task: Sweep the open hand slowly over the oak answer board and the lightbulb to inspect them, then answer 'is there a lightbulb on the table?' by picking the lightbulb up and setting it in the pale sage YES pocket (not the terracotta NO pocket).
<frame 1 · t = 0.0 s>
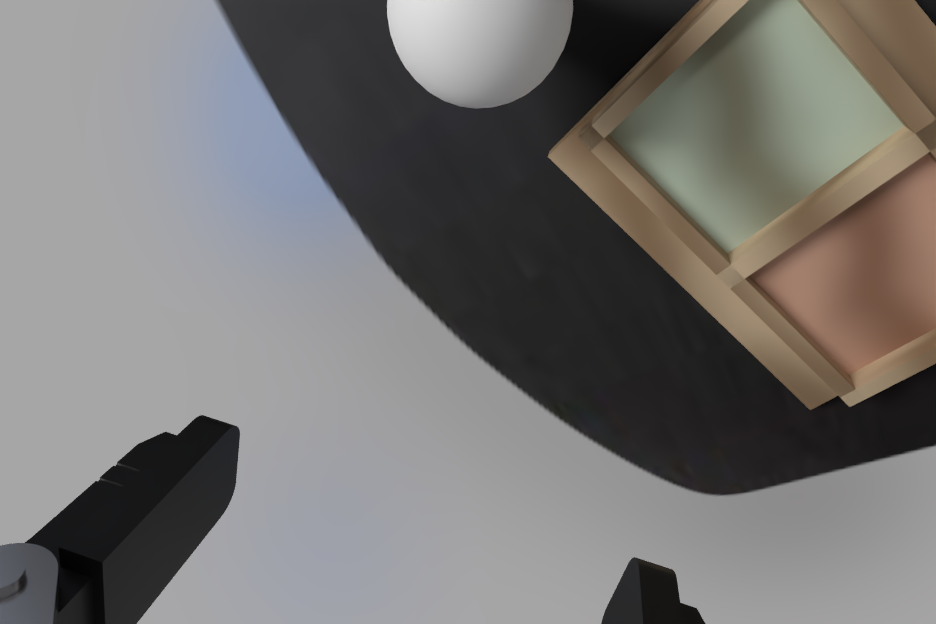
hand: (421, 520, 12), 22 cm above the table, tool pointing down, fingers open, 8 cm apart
answer board: (809, 192, 29), on the table
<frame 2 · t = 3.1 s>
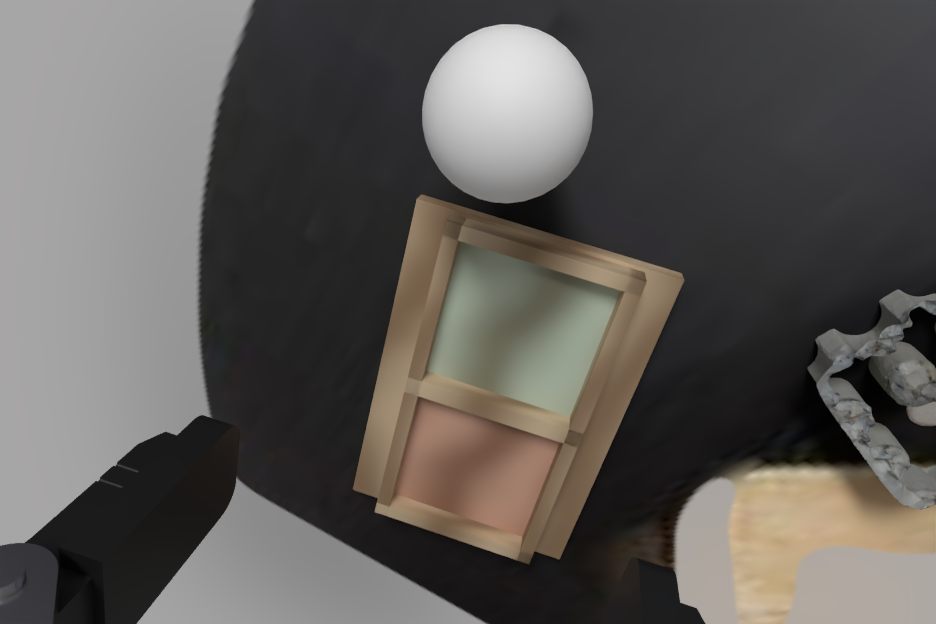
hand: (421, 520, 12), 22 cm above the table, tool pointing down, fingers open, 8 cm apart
answer board: (498, 390, 36), on the table
lightbulb: (528, 98, 29), on the table
egg carton: (904, 382, 32), on the table
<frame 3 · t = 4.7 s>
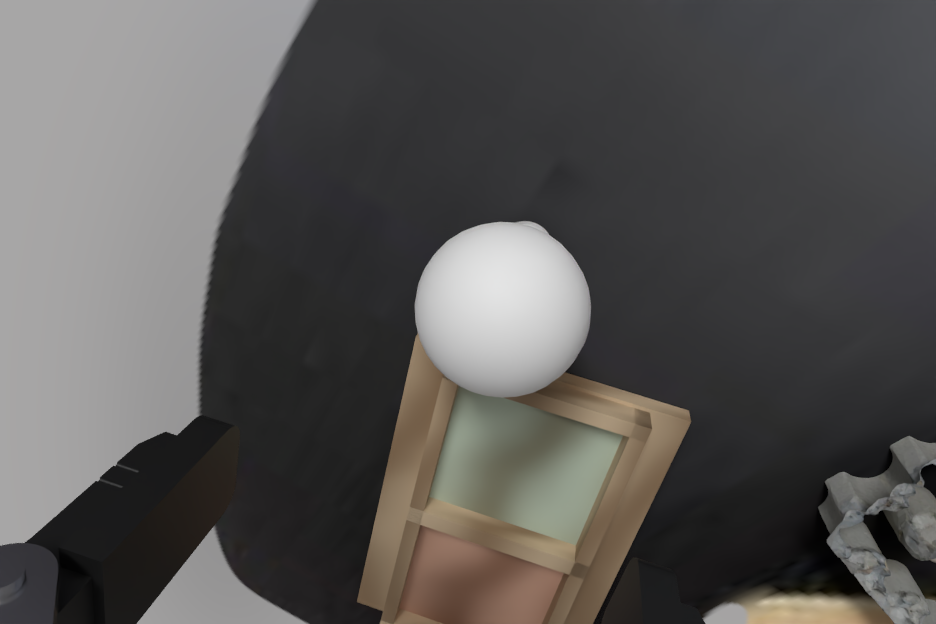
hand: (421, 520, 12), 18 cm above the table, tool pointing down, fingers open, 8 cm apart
answer board: (502, 512, 35), on the table
lightbulb: (527, 241, 29), on the table
egg carton: (920, 520, 31), on the table
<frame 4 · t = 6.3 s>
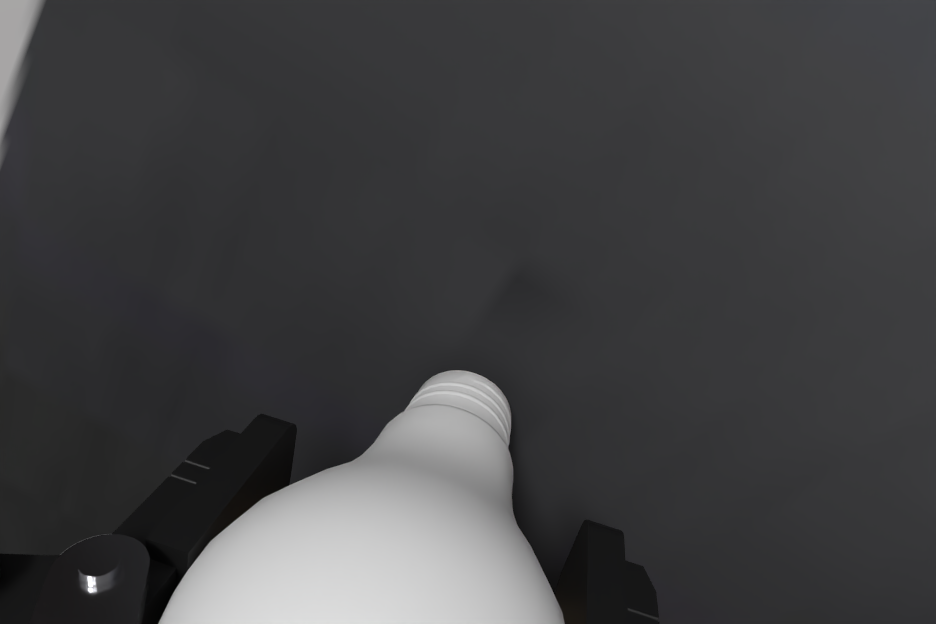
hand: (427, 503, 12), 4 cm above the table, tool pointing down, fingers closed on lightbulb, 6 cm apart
lightbulb: (469, 393, 16), on the table, touching gripper
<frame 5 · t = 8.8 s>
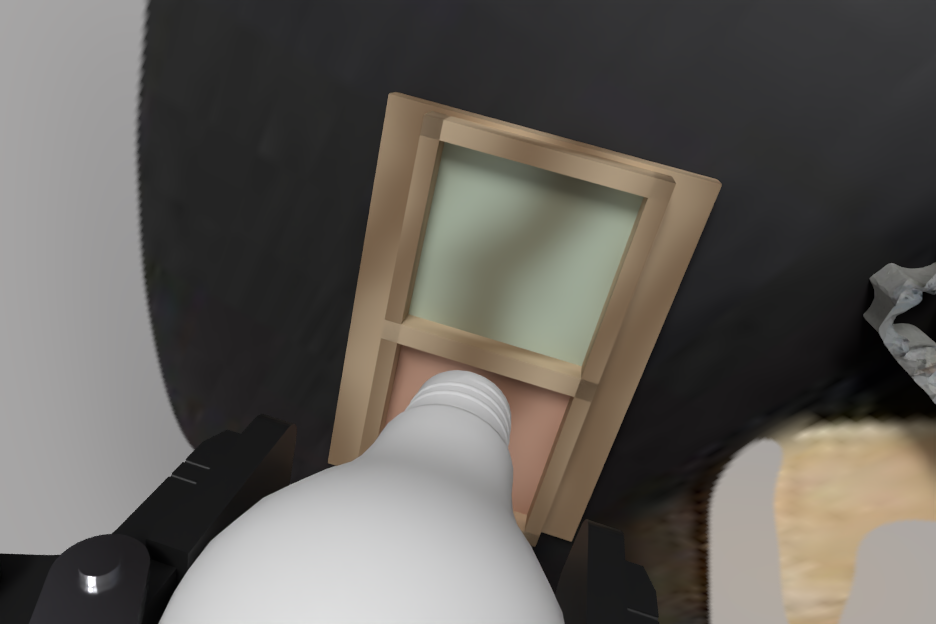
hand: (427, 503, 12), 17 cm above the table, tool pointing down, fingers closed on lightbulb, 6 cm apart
answer board: (495, 337, 30), on the table
lightbulb: (469, 392, 16), point 13 cm above the table, touching gripper
when the fingers open (6 cm above the table, at t = 11.3 s): lightbulb stays where it is, resting on answer board.
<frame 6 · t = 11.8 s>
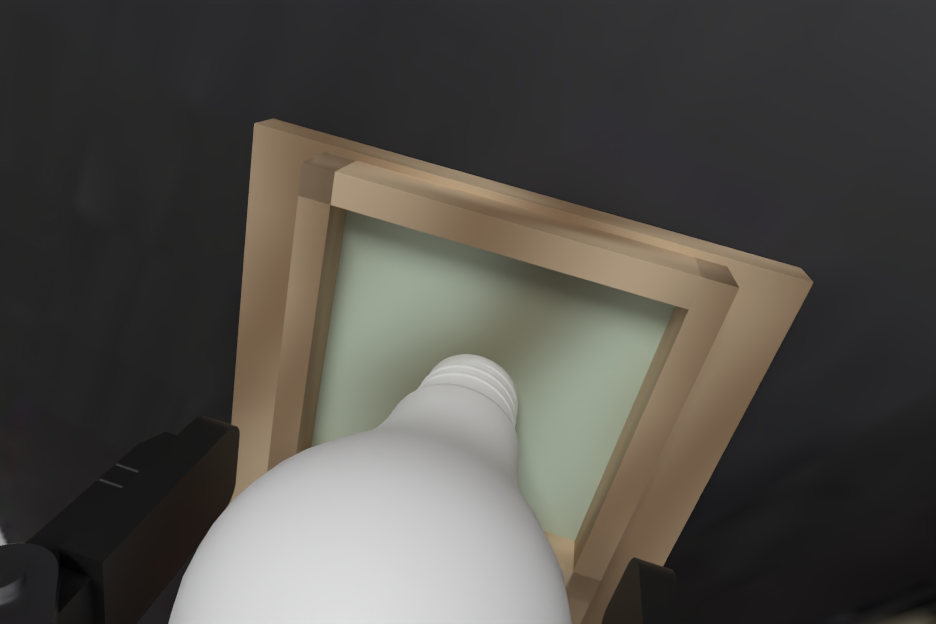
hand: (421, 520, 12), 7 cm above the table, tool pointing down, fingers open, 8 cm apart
answer board: (445, 483, 20), on the table
lightbulb: (478, 377, 17), point 1 cm above the table, touching answer board
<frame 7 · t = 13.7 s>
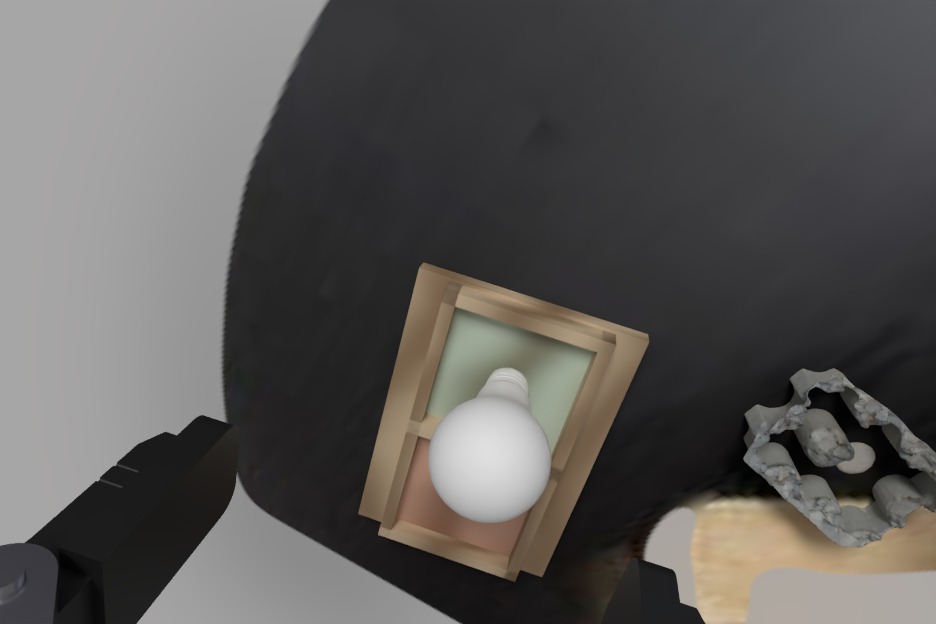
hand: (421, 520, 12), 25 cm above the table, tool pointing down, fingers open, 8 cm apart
answer board: (488, 429, 41), on the table
lightbulb: (509, 377, 38), point 1 cm above the table, touching answer board
egg carton: (829, 439, 37), on the table
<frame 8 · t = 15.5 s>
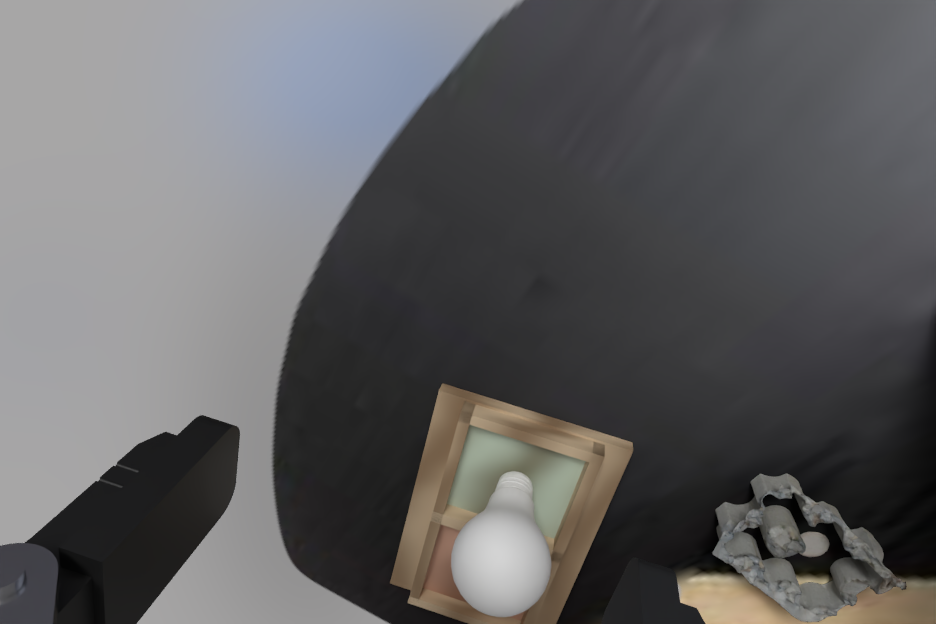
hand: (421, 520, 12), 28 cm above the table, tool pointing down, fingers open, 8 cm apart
answer board: (500, 514, 48), on the table
lightbulb: (517, 476, 45), point 1 cm above the table, touching answer board
egg carton: (789, 528, 44), on the table
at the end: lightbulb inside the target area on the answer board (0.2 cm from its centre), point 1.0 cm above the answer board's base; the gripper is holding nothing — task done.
